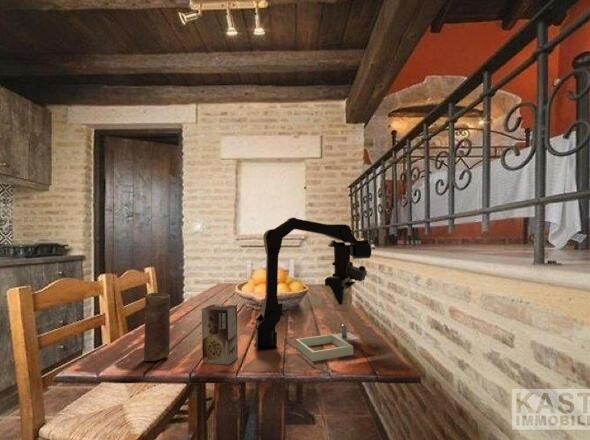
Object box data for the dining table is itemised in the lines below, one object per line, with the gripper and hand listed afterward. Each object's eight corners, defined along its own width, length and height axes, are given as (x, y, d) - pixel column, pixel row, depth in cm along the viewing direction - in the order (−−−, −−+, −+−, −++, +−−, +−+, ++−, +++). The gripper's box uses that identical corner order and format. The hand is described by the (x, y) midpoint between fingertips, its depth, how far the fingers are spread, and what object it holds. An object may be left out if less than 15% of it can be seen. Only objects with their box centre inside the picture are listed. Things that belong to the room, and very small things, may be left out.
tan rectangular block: (347, 312, 117) (346, 288, 117) (334, 310, 119) (333, 287, 120) (352, 309, 121) (351, 286, 121) (339, 307, 124) (339, 286, 124)
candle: (162, 352, 109) (162, 291, 110) (174, 357, 105) (174, 293, 106) (139, 359, 104) (139, 294, 104) (151, 365, 99) (151, 296, 100)
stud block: (339, 344, 115) (339, 328, 115) (329, 337, 122) (328, 322, 122) (359, 341, 118) (359, 325, 118) (348, 334, 125) (347, 320, 125)
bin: (312, 364, 97) (312, 352, 97) (295, 349, 110) (295, 339, 110) (353, 357, 102) (353, 346, 102) (332, 344, 115) (332, 334, 115)
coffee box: (238, 357, 104) (238, 305, 105) (228, 365, 98) (228, 309, 99) (212, 354, 107) (212, 303, 107) (201, 362, 100) (201, 308, 101)
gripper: (355, 261, 109) (356, 310, 108) (371, 257, 125) (372, 300, 125) (323, 261, 114) (324, 307, 114) (343, 257, 131) (344, 297, 130)
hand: (343, 302), depth 120 cm, fingers closed on tan rectangular block, 5 cm apart
